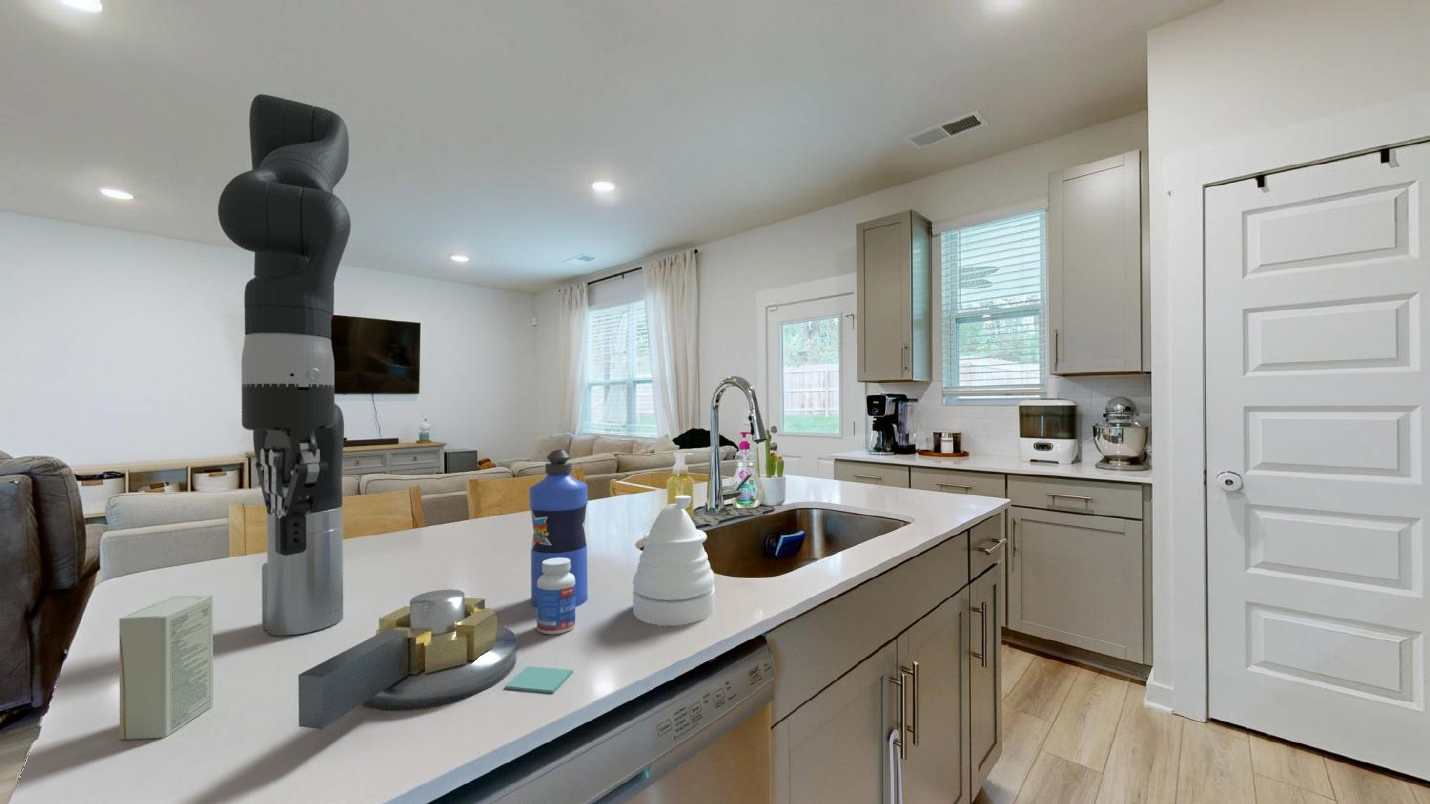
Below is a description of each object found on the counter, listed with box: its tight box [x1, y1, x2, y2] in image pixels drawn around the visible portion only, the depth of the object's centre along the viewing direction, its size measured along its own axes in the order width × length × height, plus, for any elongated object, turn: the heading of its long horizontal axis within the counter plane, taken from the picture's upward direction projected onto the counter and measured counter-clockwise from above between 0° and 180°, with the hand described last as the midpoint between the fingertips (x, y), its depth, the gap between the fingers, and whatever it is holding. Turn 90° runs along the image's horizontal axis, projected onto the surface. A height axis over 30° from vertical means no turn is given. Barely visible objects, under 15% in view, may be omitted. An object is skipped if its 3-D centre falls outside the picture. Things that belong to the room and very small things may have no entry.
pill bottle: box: [536, 558, 576, 635], centre depth 82 cm, size 6×5×10 cm
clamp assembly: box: [297, 597, 498, 731], centre depth 64 cm, size 24×13×5 cm, turn 169°
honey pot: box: [632, 494, 716, 626], centre depth 89 cm, size 13×13×18 cm
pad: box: [504, 665, 574, 694], centre depth 67 cm, size 6×5×1 cm
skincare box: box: [118, 595, 214, 741], centre depth 58 cm, size 6×4×12 cm
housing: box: [360, 589, 517, 712], centre depth 69 cm, size 18×18×9 cm
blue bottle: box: [528, 449, 589, 609], centre depth 94 cm, size 9×9×25 cm
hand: (291, 553), depth 57 cm, fingers closed
